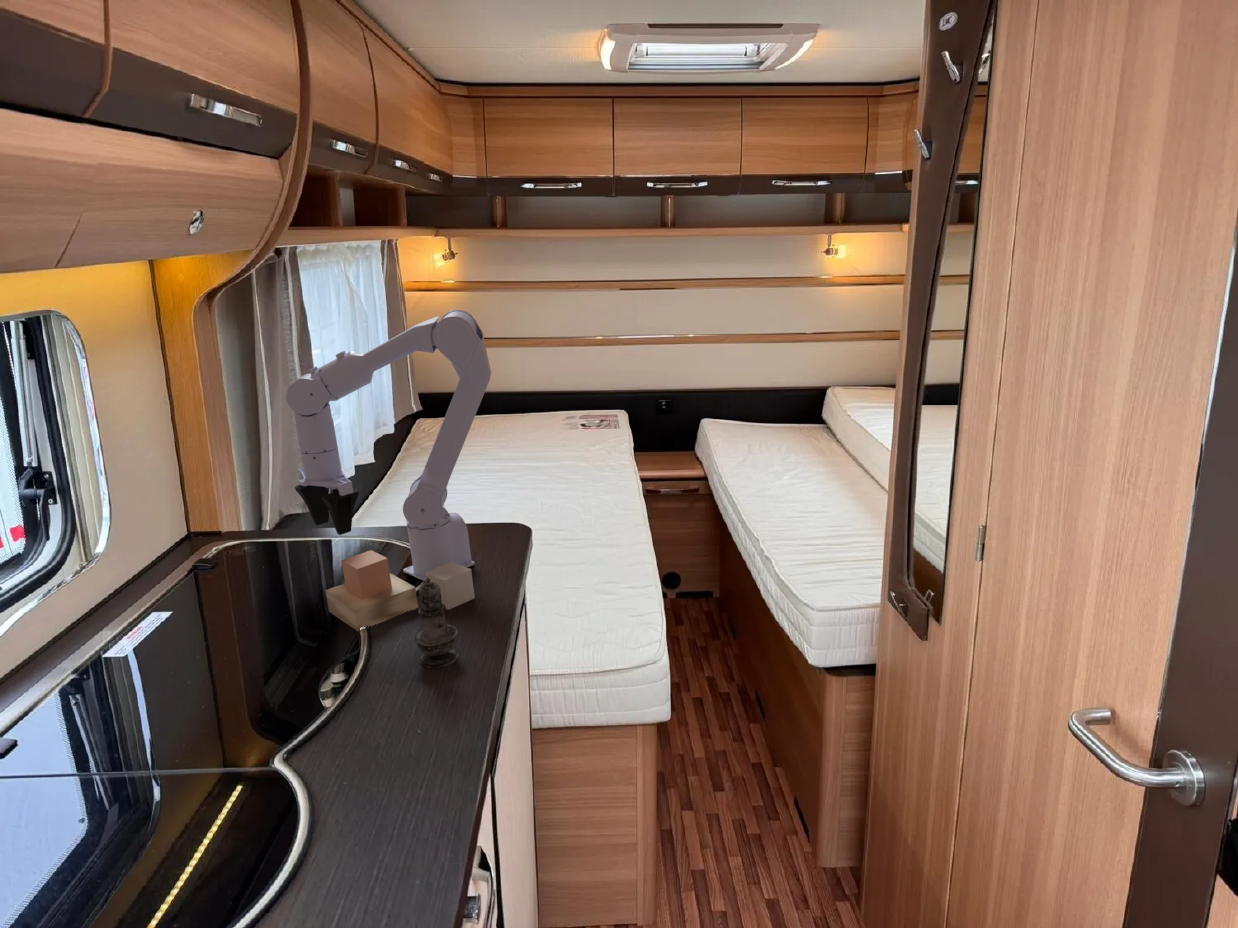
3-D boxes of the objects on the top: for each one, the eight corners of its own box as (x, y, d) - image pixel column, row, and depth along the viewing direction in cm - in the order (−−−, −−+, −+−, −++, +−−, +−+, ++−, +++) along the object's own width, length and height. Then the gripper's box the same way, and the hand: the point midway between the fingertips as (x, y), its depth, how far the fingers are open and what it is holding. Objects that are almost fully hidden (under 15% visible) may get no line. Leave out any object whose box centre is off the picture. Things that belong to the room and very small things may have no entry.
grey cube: (456, 590, 139) (452, 561, 137) (474, 598, 135) (471, 569, 134) (429, 601, 135) (425, 572, 134) (448, 610, 132) (444, 580, 131)
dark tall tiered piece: (408, 664, 117) (395, 583, 113) (436, 644, 122) (424, 565, 118) (442, 672, 114) (430, 589, 110) (469, 651, 119) (459, 571, 115)
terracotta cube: (375, 579, 136) (371, 550, 134) (392, 588, 132) (387, 558, 131) (346, 590, 133) (341, 560, 131) (362, 599, 129) (357, 569, 128)
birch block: (387, 592, 141) (384, 569, 139) (418, 610, 133) (415, 587, 132) (329, 613, 134) (325, 590, 133) (358, 634, 127) (354, 609, 126)
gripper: (275, 448, 141) (290, 526, 145) (317, 462, 131) (332, 545, 135) (315, 438, 146) (328, 513, 150) (359, 451, 136) (372, 531, 140)
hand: (333, 527), depth 143 cm, fingers open, 7 cm apart
